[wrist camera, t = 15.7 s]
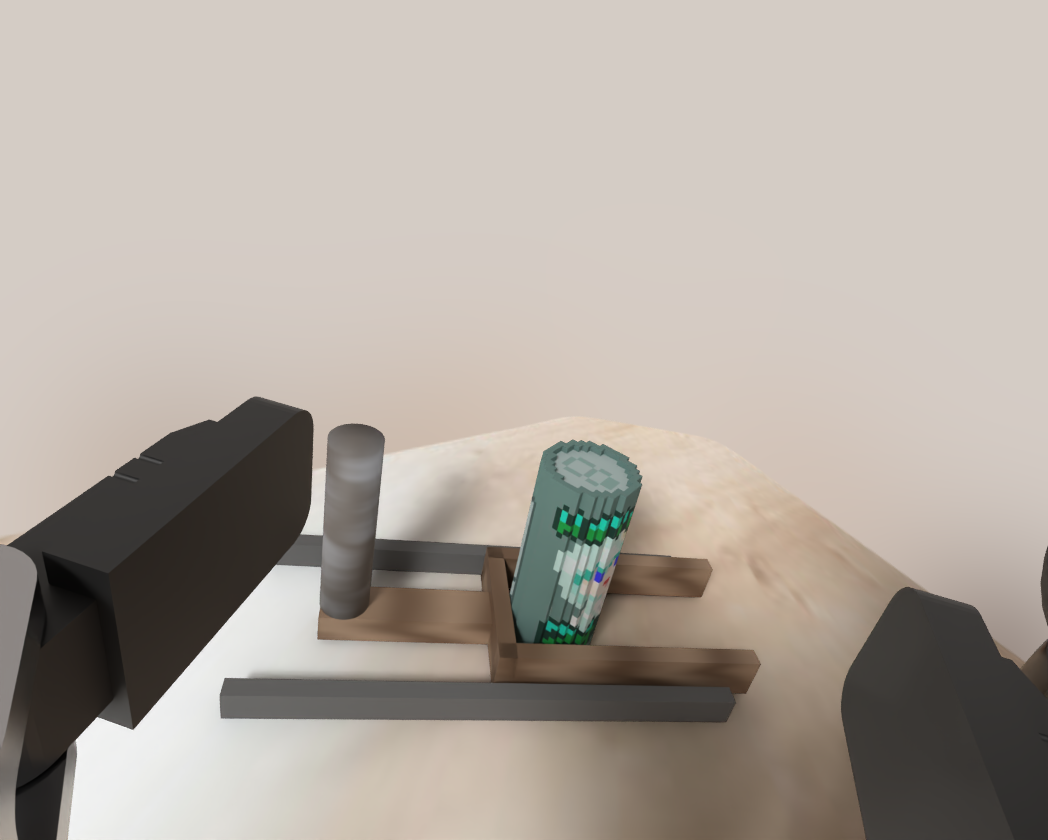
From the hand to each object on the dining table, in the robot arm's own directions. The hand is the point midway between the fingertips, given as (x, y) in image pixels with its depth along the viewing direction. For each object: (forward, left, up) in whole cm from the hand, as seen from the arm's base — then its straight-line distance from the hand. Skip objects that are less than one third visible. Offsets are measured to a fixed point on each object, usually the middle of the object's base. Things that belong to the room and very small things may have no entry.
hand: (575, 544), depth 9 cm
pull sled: (-9, -27, -31) cm, 42 cm away
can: (-10, -27, -32) cm, 43 cm away
